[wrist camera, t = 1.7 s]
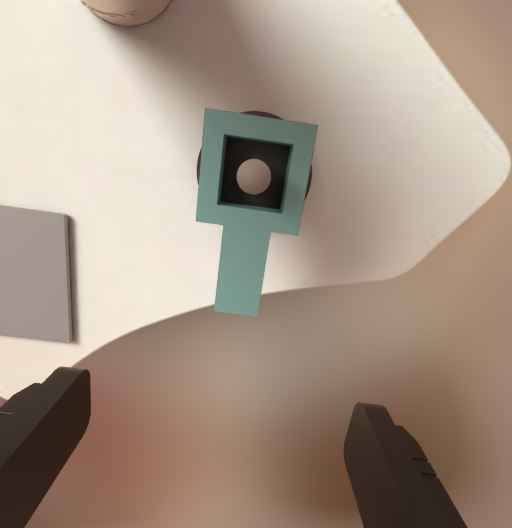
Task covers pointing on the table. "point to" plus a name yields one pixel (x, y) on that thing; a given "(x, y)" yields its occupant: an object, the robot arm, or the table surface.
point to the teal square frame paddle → (246, 216)
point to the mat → (34, 275)
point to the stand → (254, 171)
